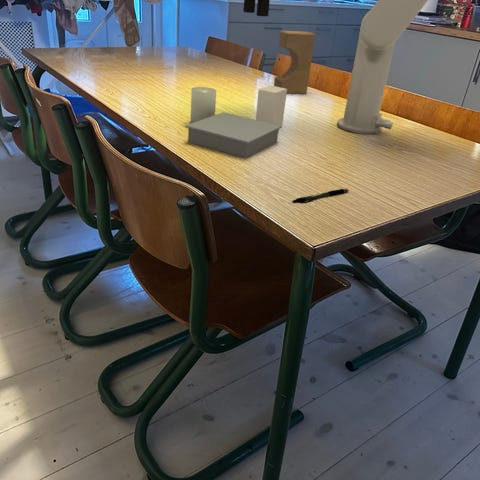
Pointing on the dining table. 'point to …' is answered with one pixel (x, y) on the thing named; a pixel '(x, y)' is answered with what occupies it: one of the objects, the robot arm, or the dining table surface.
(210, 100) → the grey cylinder
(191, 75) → the dining table surface
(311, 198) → the pen
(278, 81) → the decorative block
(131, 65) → the dining table surface
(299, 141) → the dining table surface
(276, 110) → the carton
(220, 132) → the podium
